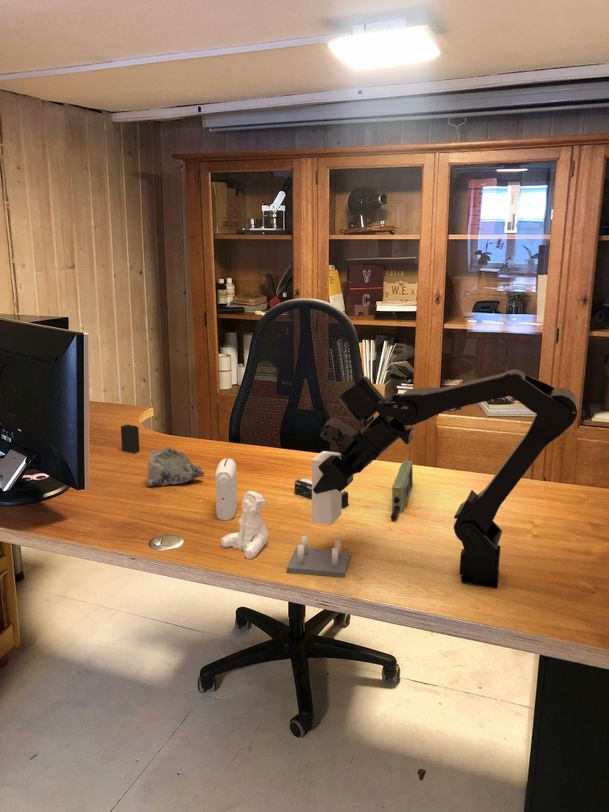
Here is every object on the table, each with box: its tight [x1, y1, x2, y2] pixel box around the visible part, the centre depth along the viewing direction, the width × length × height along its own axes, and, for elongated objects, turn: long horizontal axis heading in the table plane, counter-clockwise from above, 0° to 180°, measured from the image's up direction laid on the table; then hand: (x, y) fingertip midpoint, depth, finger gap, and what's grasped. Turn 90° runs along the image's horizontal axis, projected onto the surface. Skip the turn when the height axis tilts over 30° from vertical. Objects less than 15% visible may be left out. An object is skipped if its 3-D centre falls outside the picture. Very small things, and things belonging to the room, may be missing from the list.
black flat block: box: [294, 477, 350, 510], centre depth 164 cm, size 14×25×4 cm, turn 46°
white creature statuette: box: [220, 490, 270, 560], centre depth 136 cm, size 10×9×12 cm
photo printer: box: [214, 457, 238, 521], centre depth 153 cm, size 10×4×12 cm, turn 0°
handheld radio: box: [390, 460, 414, 521], centre depth 160 cm, size 7×3×25 cm
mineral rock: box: [146, 446, 205, 487], centre depth 171 cm, size 13×11×10 cm
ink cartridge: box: [120, 424, 141, 454], centre depth 199 cm, size 5×2×8 cm, turn 61°
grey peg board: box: [286, 535, 352, 579], centre depth 129 cm, size 11×9×4 cm
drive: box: [311, 450, 343, 526], centre depth 132 cm, size 4×6×13 cm, turn 157°
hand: (320, 486), depth 133 cm, fingers closed on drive, 6 cm apart
